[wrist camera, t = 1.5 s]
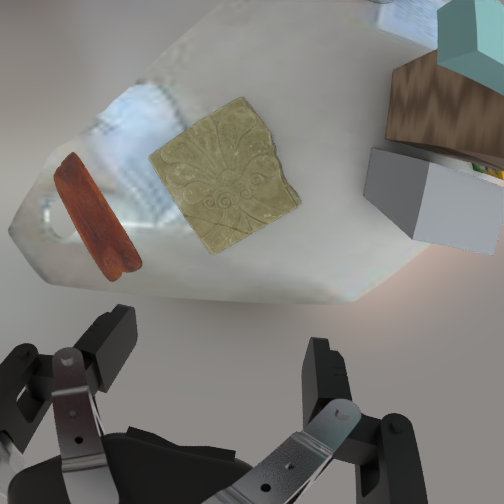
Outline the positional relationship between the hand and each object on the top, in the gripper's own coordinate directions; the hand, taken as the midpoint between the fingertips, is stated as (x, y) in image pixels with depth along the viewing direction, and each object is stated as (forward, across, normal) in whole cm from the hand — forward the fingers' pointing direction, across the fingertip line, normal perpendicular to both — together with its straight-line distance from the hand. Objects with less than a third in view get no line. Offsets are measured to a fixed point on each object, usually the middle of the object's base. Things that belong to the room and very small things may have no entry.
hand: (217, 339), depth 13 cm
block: (+6, -20, -17) cm, 27 cm away
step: (+38, -22, -5) cm, 44 cm away
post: (+38, -24, -17) cm, 48 cm away
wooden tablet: (+39, +32, +9) cm, 51 cm away
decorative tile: (+39, +6, -1) cm, 39 cm away
